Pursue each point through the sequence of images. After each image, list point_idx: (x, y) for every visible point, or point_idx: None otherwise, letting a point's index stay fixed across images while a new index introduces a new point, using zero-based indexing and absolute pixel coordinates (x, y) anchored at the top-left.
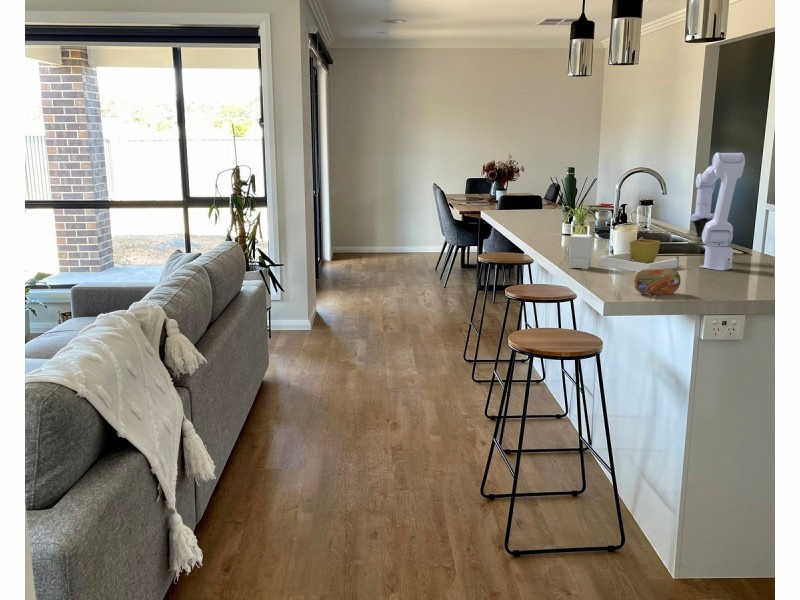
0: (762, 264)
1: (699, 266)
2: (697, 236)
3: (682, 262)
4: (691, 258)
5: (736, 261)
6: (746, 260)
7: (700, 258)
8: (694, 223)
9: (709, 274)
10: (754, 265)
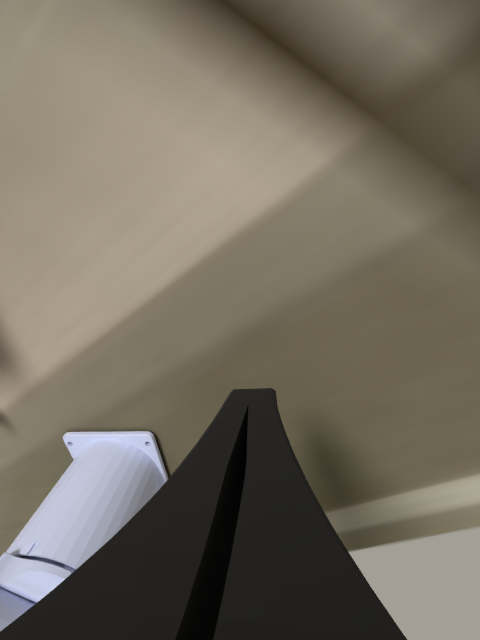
0: (391, 530)
1: (63, 436)
2: (229, 396)
3: (92, 313)
4: (269, 250)
5: (387, 448)
6: (468, 462)
7: (324, 285)
8: (48, 605)
9: (13, 500)
10: (334, 521)
